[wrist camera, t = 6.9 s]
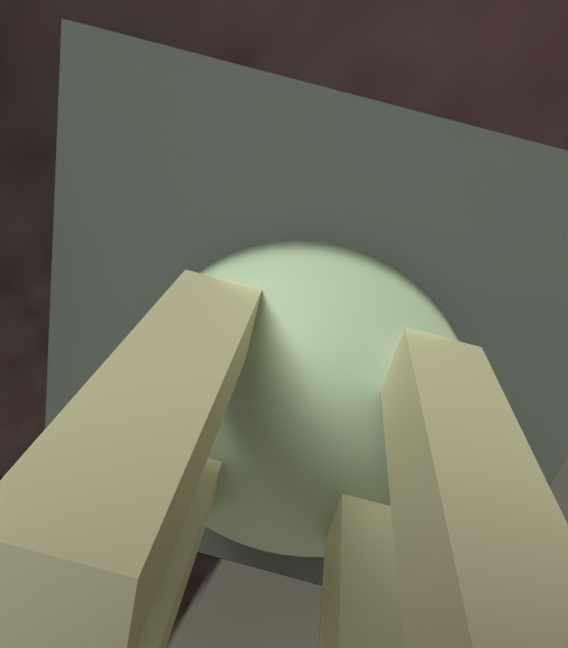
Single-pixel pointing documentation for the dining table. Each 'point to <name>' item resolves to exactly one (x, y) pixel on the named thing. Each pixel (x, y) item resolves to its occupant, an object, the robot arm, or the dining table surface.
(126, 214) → the mat
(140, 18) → the dining table surface
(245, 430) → the stool
